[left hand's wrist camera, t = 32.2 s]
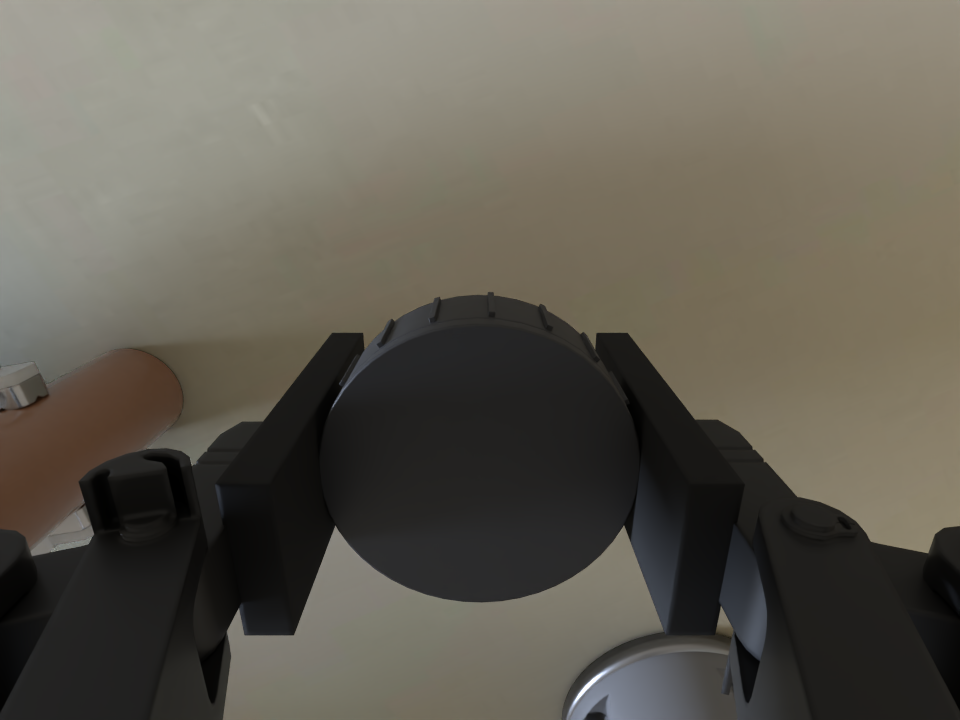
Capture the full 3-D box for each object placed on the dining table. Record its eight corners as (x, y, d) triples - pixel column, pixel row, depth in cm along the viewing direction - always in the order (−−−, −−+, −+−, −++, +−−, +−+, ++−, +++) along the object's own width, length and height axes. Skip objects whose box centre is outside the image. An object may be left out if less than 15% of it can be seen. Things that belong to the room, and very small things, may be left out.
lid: (364, 259, 11) (341, 282, 9) (661, 332, 11) (696, 368, 9) (319, 511, 13) (293, 572, 11) (572, 563, 13) (586, 629, 11)
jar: (192, 433, 32) (-62, 682, 17) (101, 435, 32) (-232, 686, 17) (171, 346, 30) (-133, 539, 15) (75, 349, 30) (-322, 545, 15)
